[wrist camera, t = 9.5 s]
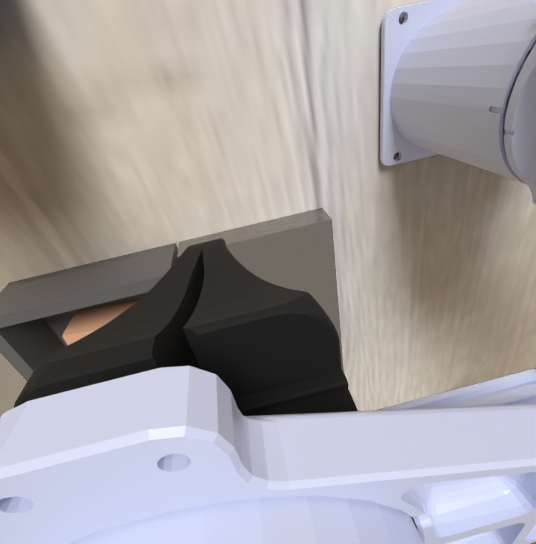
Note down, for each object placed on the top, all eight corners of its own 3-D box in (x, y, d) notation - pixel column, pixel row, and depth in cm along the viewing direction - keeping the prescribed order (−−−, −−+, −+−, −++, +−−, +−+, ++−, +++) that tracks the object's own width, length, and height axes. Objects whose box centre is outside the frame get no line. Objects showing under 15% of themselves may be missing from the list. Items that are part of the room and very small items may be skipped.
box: (175, 243, 21) (169, 274, 18) (232, 389, 30) (235, 428, 27) (9, 282, 21) (-29, 322, 18) (115, 419, 30) (104, 463, 26)
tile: (161, 296, 23) (156, 319, 21) (181, 354, 26) (179, 378, 24) (75, 311, 22) (61, 336, 20) (107, 368, 26) (98, 394, 24)
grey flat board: (322, 208, 22) (331, 219, 20) (336, 362, 30) (344, 379, 29) (179, 242, 21) (177, 256, 20) (235, 388, 30) (237, 406, 28)
